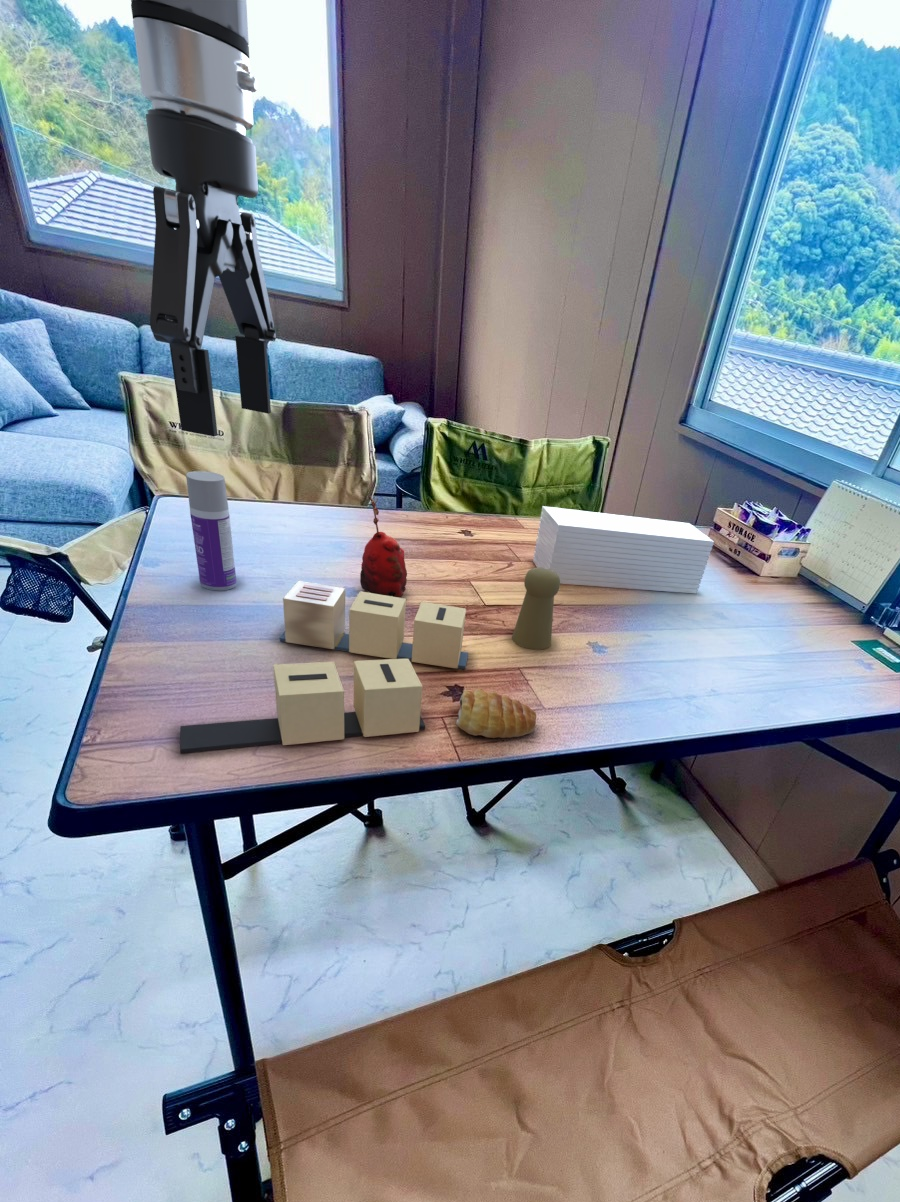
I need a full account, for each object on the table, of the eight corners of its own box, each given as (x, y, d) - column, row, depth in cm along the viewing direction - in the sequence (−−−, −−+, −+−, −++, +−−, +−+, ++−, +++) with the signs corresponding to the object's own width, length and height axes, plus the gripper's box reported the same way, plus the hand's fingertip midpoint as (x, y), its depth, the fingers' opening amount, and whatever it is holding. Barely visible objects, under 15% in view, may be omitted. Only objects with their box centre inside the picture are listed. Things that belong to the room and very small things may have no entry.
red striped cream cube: (285, 642, 79) (282, 597, 76) (300, 622, 84) (298, 579, 80) (333, 649, 80) (333, 605, 76) (345, 629, 85) (345, 587, 81)
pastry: (532, 713, 77) (537, 687, 75) (536, 745, 72) (542, 719, 70) (456, 705, 76) (459, 678, 73) (455, 738, 70) (458, 710, 68)
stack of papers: (674, 573, 133) (689, 523, 127) (696, 593, 125) (714, 541, 119) (532, 561, 123) (542, 505, 117) (547, 582, 115) (558, 524, 109)
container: (192, 585, 88) (176, 475, 79) (213, 574, 92) (199, 468, 83) (224, 593, 88) (211, 483, 79) (243, 582, 92) (232, 476, 83)
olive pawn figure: (558, 642, 95) (573, 573, 89) (537, 653, 91) (551, 582, 85) (526, 627, 97) (538, 559, 91) (504, 638, 93) (515, 567, 87)
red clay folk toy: (413, 599, 98) (419, 502, 89) (370, 602, 94) (372, 502, 86) (394, 580, 103) (398, 486, 94) (352, 582, 99) (352, 485, 90)
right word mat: (276, 644, 79) (273, 596, 75) (291, 624, 84) (289, 578, 80) (464, 673, 82) (470, 628, 79) (468, 652, 87) (473, 609, 83)
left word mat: (180, 759, 59) (169, 701, 55) (181, 724, 63) (170, 668, 59) (427, 734, 70) (432, 684, 66) (413, 705, 74) (417, 656, 70)
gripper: (177, 89, 38) (217, 454, 50) (300, 163, 59) (308, 410, 71) (44, 55, 37) (118, 435, 49) (217, 142, 58) (239, 396, 70)
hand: (230, 421), depth 60 cm, fingers open, 13 cm apart
